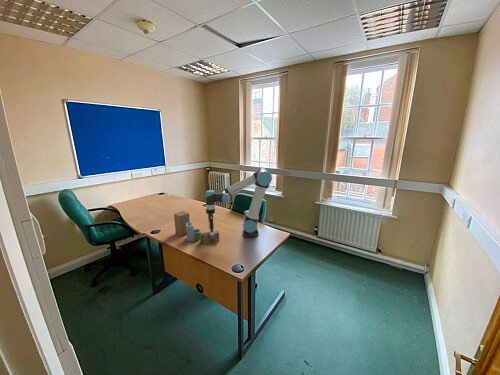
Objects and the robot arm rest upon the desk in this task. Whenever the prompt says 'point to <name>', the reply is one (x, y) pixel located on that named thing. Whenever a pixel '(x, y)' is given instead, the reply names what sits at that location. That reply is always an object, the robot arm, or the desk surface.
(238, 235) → the desk surface
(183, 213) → the wooden block
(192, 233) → the gray block with ears
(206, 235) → the rail
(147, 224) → the desk surface
